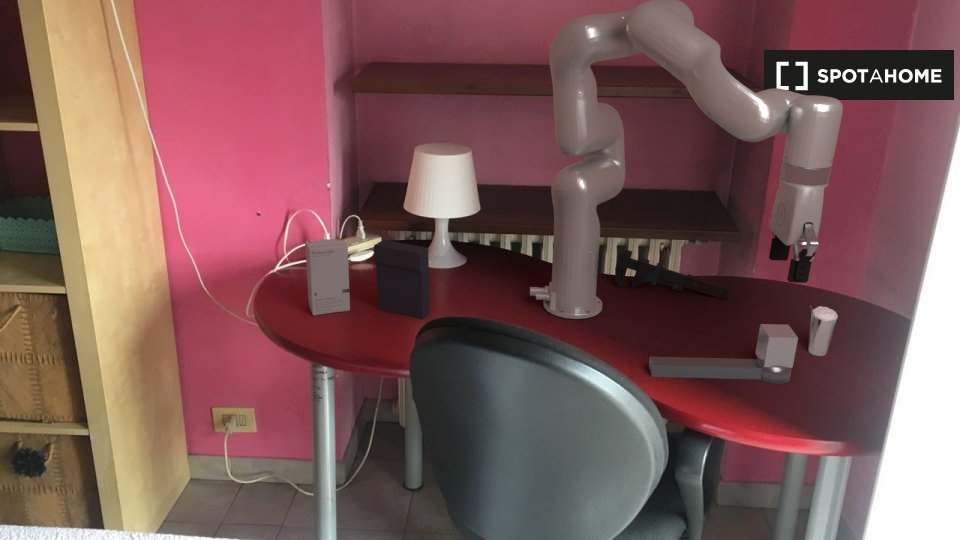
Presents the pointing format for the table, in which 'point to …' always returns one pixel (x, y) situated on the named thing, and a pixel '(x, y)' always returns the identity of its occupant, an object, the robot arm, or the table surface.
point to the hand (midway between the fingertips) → (787, 270)
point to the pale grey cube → (776, 345)
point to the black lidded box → (402, 278)
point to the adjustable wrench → (664, 276)
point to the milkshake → (821, 330)
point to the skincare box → (327, 276)
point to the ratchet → (717, 369)
